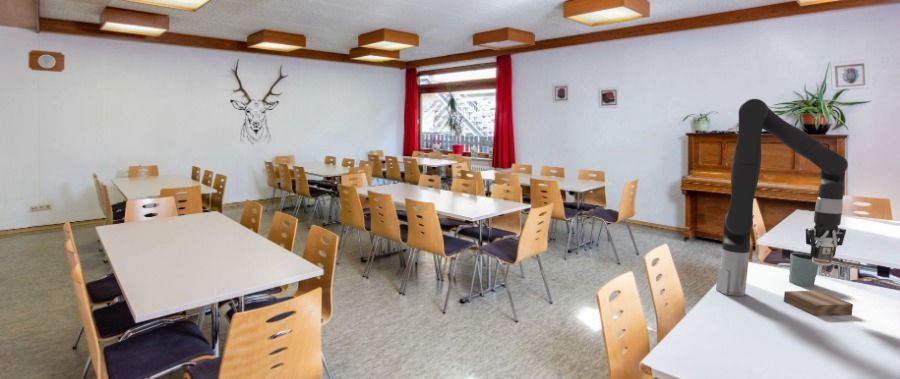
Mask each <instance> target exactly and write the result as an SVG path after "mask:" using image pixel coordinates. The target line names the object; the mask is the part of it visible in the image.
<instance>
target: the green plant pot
mask: <svg viewBox="0 0 900 379" xmlns="http://www.w3.org/2000/svg"><path fill="white" fill-rule="evenodd" d="M789 257H790V258H789V259H790V260H789V276H788V282H789V283H790V284H792V285H795V286H799V287H805V288H806V287H807V288H810V287H811V288H812V287H814V286H815V282H816V278H817V273H818V269H819V265H818V264H815V263H813V262H812V256H811V254H809V253H802V252H801V253H800V252H791V253H790V256H789Z"/></svg>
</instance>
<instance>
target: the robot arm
mask: <svg viewBox="0 0 900 379" xmlns="http://www.w3.org/2000/svg"><path fill="white" fill-rule="evenodd" d="M763 130H764V131H766V132H768V133H769V134H771V136H774V137H775V138H776V139H778V140H779V141H780V142H781V143H783V144H784V145H785V146H787V147H788V148H789V149H791V150H792V151H793V152H795V153H797V154H798V155H799V156H801V157H803V158H804V159H806V160H808V161H810V162H811V163H812V164H814V165H815V166H816V167H818V168H819V169H820V180H819V181H820V182H819V186H818V190H817V191H818V192H817V199H816V202H815V207H814V208H815V209H814V215H813V222H814V224H815V225H814V226H813V228H809V227H807V228H805V244H806V245H808V246H810V255H811V256H812V257H815V258H818V253H819V248H818V247H819V246H820V244H821V242H823V241H824V239H825V238H833V241H832V244H833V245H834V250H833V258H835V256H836V251H837V247H838V246H843V244H844V240H845V236H846V233H847V229H845V228H841V227H839V226H840V225H841V223H842V221H841V220H842V214H843V207H844V204H843V203H844V202H843V198H844V193H845V192H844V191H845V184H844V181H845V175H846V171H847V169H848V166H849V163H848V161H847V159H846V158H845V157H844V156H842V155H840V154H839V153H837V152H836V151H834V150H832V149H831V148H828V147H827V146H825V145H824V144H823V143H822V142H820V141H819V140H817V139H816V138H815V137H813V136H811V135H810V134H808V133H807V132H805V131H804V130H801V129H799V128H798V127H796V126H794V125H792V124H790V123H789V122H787V121H786V120H785V119H783V118H781V117H780V116H779V115H777V114H776V113H775V112H774V111H773V110H772V109H771V108H770V107H769V106H768V104H766V102H765V101H763V100H761V99H760V98H759V99H758V98H750V99H747V100H745V101H743V102H742V103H741V104H740V106H739V109H738V132H737V134H738V135H737V140H736V142H735V144H736V145H735V148H734V151H733V158H732V163H731V170H730V193H731V194H730V202H729V207H728V211H727V213H726V214H725V217H724V223H723V232H722V233H723V235H722V244H721V245H722V246H721V248H722V249H721V258H720V259H721V260H720V266H718V267H717V272H716V273H717V274H716V286H715V290H716V291H718V292H719V293H722V294H723V295H726V296H732V297H733V296H735V297H742V296H745V295H746V288H747V278H748V269H749V259H750V252H751V236H752V235H751V234H752V228H753V226H754V225H753V224H754V220H753V218H754V217H753V215H754V213H753V212H754V211H753V210H754V198H755V194H756V192H757V187H758V183H759V179H760V178H759V177H760V173H761V165H762V142H761V141H762V133H763ZM817 237H819V238H820V239H818V238H817ZM816 241H817V243H816Z"/></svg>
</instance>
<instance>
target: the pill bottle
mask: <svg viewBox="0 0 900 379" xmlns="http://www.w3.org/2000/svg"><path fill="white" fill-rule="evenodd" d="M817 238H818V239H820V238H819V237H817ZM832 241H833V238H825V239H824V241H823V242H821V244H820V246H819V247H818V248H819V253H818V258H815V257H812V262H813V263H815V264H818V266H827V267H829V266H832V264H833V259H834V257H833V250H834V245H833V244H832ZM816 243H817V241H816Z"/></svg>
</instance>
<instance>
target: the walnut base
mask: <svg viewBox="0 0 900 379" xmlns="http://www.w3.org/2000/svg"><path fill="white" fill-rule="evenodd" d="M783 302H784V303H785V304H788V305H790V306H793V307H795V308H797V309H799V310H801V311H803V312H805V313H807V314H810V315H811V316H813V317H833V316H834V317H835V316H837V317H838V316H852V315H853V309H854V308H853V307H854V304H853V303H851V302H849V301H845V300H843V299H841V298H839V297H836V296H834V295H831V294H828V293H825V292H823V291H820V290H792V291H791V290H790V291H785V290H784V295H783Z"/></svg>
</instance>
